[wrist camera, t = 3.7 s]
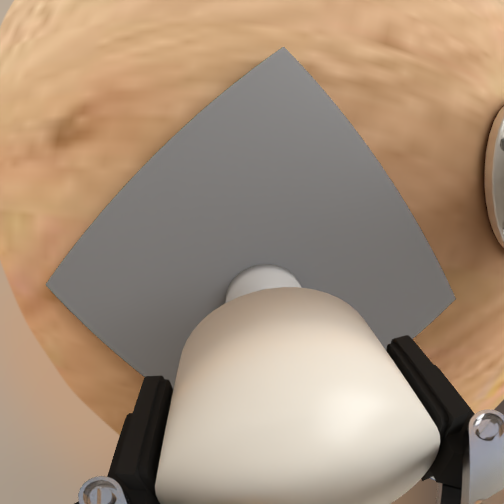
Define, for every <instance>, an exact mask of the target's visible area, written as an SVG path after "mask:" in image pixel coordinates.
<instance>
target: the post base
mask: <svg viewBox="0 0 504 504" xmlns="http://www.w3.org/2000/svg"><path fill="white" fill-rule="evenodd" d="M46 286H47V287H48V288H49V289H50V290H51V291H52V292H53V294H54V295H55V296H56V297H57V298H58V299H59V300H60V301H61V302H62V303H63V304H64V305H65V306H66V307H67V308H68V309H69V310H70V311H71V312H72V313H73V314H74V315H75V316H76V317H77V318H78V319H79V320H80V321H81V322H82V323H83V324H84V325H85V326H86V327H87V328H88V329H89V330H90V331H92V332H93V333H94V334H95V335H96V336H97V337H98V338H99V339H100V340H101V341H102V342H104V343H105V344H106V345H107V346H108V347H109V348H110V349H111V350H113V351H114V352H115V353H116V354H117V355H118V356H120V357H121V358H122V359H123V360H124V361H125V362H127V363H128V364H129V365H130V366H132V367H133V368H134V369H135V370H136V371H138V372H139V373H140V374H141V375H143V376H144V377H146V376H160V375H161V376H163V377H164V379H168V380H169V381H170V383H171V385H172V388H173V390H174V385H175V380H176V376H177V371H178V367H179V362H180V358H181V354H182V350H183V348H184V346H185V343H186V341H187V339H188V338H189V336H190V334H191V333H192V331H193V330H194V329H195V328H196V327H197V325H198V324H199V323H200V322H201V321H202V320H203V319H204V318H205V317H207V316H208V315H209V314H210V313H211V312H212V311H214V310H216V309H217V308H219V307H220V306H222V305H223V304H225V303H227V302H229V301H231V300H233V299H235V298H237V297H240V296H243V295H246V294H249V293H252V292H256V291H260V290H265V289H271V288H280V287H300V288H307V289H314V290H318V291H321V292H325V293H328V294H330V295H333V296H335V297H338V298H339V299H341V300H343V301H344V302H346V303H348V304H349V305H350V306H351V307H353V308H354V309H355V310H356V311H357V312H358V313H359V314H360V315H361V317H362V318H363V319H364V320H365V322H366V323H367V324H368V326H369V327H370V329H371V330H372V331H373V333H374V334H375V336H376V337H377V338H378V340H379V341H380V343H381V344H382V346H383V347H384V348H385V350H386V349H387V345H388V344H391V341H392V339H394V338H398V337H401V336H405V335H409V336H410V337H411V338H412V339H413V338H414V337H415V336H416V335H418V334H419V333H420V332H421V331H422V330H423V329H424V328H426V327H427V326H428V325H429V324H430V323H431V322H432V321H433V320H434V319H435V318H437V317H438V316H439V315H440V314H441V313H442V312H443V311H444V310H445V309H446V308H447V307H448V306H449V305H450V304H451V303H452V302H453V301H454V300H455V299H456V298H455V296H454V293H453V291H452V289H451V287H450V285H449V283H448V281H447V278H446V276H445V274H444V272H443V270H442V268H441V266H440V264H439V262H438V260H437V258H436V256H435V254H434V253H433V251H432V249H431V247H430V245H429V243H428V241H427V239H426V238H425V236H424V234H423V232H422V230H421V229H420V227H419V225H418V223H417V222H416V220H415V218H414V216H413V215H412V213H411V211H410V210H409V208H408V206H407V205H406V203H405V201H404V200H403V198H402V197H401V195H400V193H399V192H398V190H397V189H396V187H395V186H394V184H393V182H392V181H391V179H390V178H389V176H388V175H387V173H386V172H385V170H384V169H383V167H382V166H381V164H380V163H379V162H378V160H377V159H376V157H375V156H374V154H373V153H372V152H371V150H370V149H369V147H368V146H367V145H366V143H365V142H364V140H363V139H362V138H361V136H360V135H359V134H358V132H357V131H356V130H355V128H354V127H353V126H352V125H351V123H350V122H349V121H348V119H347V118H346V117H345V116H344V114H343V113H342V112H341V111H340V109H339V108H338V107H337V106H336V104H335V103H334V102H333V101H332V100H331V98H330V97H329V96H328V95H327V94H326V92H325V91H324V90H323V89H322V88H321V87H320V85H319V84H318V83H317V82H316V81H315V80H314V79H313V77H312V76H311V75H310V74H309V73H308V72H307V71H306V70H305V69H304V67H303V66H302V65H301V64H300V63H299V62H298V61H297V60H296V59H295V58H294V57H293V56H292V55H291V54H290V53H289V52H288V51H287V50H286V49H285V48H284V47H282V48H281V49H279V50H278V51H277V52H275V53H274V54H272V55H271V56H270V57H268V58H267V59H265V60H264V61H263V62H261V63H260V64H259V65H257V66H256V67H255V68H253V69H252V70H251V71H249V72H248V73H247V74H246V75H244V76H243V77H242V78H240V79H239V80H238V81H237V82H235V83H234V84H233V85H232V86H230V87H229V88H228V89H227V90H225V91H224V92H223V93H222V94H221V95H219V96H218V97H217V98H216V99H215V100H213V101H212V102H211V103H210V104H209V105H208V106H206V107H205V108H204V109H203V110H202V111H201V112H200V113H198V114H197V115H196V116H195V117H194V118H193V119H192V120H191V121H190V122H188V123H187V124H186V125H185V126H184V127H183V128H182V129H181V130H180V131H179V132H178V133H177V134H175V135H174V136H173V137H172V138H171V139H170V140H169V141H168V142H167V143H166V144H165V145H164V146H163V147H162V148H161V149H160V150H159V151H158V152H157V153H156V154H155V155H154V156H153V157H152V158H151V159H150V160H149V161H148V162H147V163H146V164H145V165H144V166H143V167H142V168H141V169H140V170H139V171H138V172H137V173H136V174H135V175H134V176H133V178H132V179H131V180H130V181H129V182H128V183H127V184H126V185H125V186H124V187H123V188H122V189H121V191H120V192H119V193H118V194H117V195H116V196H115V197H114V198H113V199H112V201H111V202H110V203H109V204H108V205H107V206H106V207H105V209H104V210H103V211H102V212H101V213H100V214H99V216H98V217H97V218H96V219H95V220H94V222H93V223H92V224H91V225H90V226H89V228H88V229H87V230H86V231H85V233H84V234H83V235H82V236H81V238H80V239H79V240H78V241H77V243H76V244H75V245H74V247H73V248H72V249H71V250H70V252H69V253H68V254H67V256H66V257H65V258H64V260H63V261H62V262H61V264H60V265H59V266H58V268H57V269H56V271H55V272H54V273H53V275H52V276H51V278H50V279H49V280H48V282H47V283H46Z"/></svg>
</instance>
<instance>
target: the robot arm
mask: <svg viewBox="0 0 504 504" xmlns="http://www.w3.org/2000/svg"><path fill="white" fill-rule="evenodd" d="M485 196H486V205H487V210H488V216H489V220H490V223H491V226H492V229H493V232H494V234H495V236H496V238H497V240H498V242H499V243H500V244H501V246H502V247H503V248H504V106H503V107H502V109H501V110H500V111H499V113H498V115H497V116H496V118H495V120H494V122H493V126H492V129H491V131H490V134H489V139H488V144H487V149H486V159H485ZM386 351H387V353H388V354H389V356H390V357H391V358H392V360H393V361H394V363H395V364H396V366H397V367H398V369H399V370H400V372H401V373H402V375H403V376H404V378H405V379H406V380H407V382H408V383H409V385H410V386H411V388H412V389H413V391H414V392H415V394H416V395H417V397H418V399H419V400H420V402H421V403H422V405H423V406H424V408H425V409H426V411H427V412H428V414H429V415H430V417H431V419H432V420H433V422H434V423H435V425H436V426H437V429H438V431H439V434H440V446H439V451H438V453H437V456H436V458H435V460H434V462H433V463H432V465H431V467H430V468H429V470H428V471H427V472H426V473H425V475H424V476H423V477H422V478H421V479H422V481H424V480H426V479H428V478H431V477H434V478H435V480H436V482H438V490H437V498H436V504H504V415H502V414H501V413H500V412H498V411H495V410H482V411H479V412H477V413H476V414H474V413H473V411H472V410H471V409H470V407H469V406H468V405H467V403H466V402H465V401H464V400H463V398H462V397H461V396H460V394H459V393H458V392H457V391H456V389H455V388H454V387H453V386H452V384H451V383H450V382H449V381H448V379H447V378H446V377H445V376H444V374H443V373H442V372H441V371H440V369H439V368H438V367H437V366H436V365H433V364H432V362H431V361H430V360H429V359H428V358H427V356H426V355H425V354H424V353H423V351H422V350H421V349H420V348H419V347H418V345H417V344H416V343H415V342H414V341H413V340H412V338H411V337H410V336H409V335H405V336H401V337H398V338H394V339H392V341H391V344H388V345H387V349H386ZM172 394H173V388H172V385H171V383H170V381H169V380H168V379H164V377H163V376H161V375H160V376H146V377H145V378H144V381H143V384H142V387H141V390H140V393H139V396H138V399H137V402H136V405H135V408H134V411H133V413H129V414H128V415H127V417H126V419H125V422H124V425H123V428H122V431H121V434H120V437H119V440H118V444H117V447H116V450H115V453H114V456H113V460H112V463H111V466H110V470H109V473H108V476H107V477H105V476H99V477H94V478H91V479H89V480H88V481H86V482H85V483H84V484H83V485H82V487H81V488H80V491H79V494H78V497H79V502H77V503H75V504H160V503H159V501H158V498H157V496H156V492H155V483H156V477H157V472H158V466H159V460H160V455H161V450H162V444H163V439H164V434H165V429H166V424H167V419H168V414H169V409H170V404H171V399H172Z"/></svg>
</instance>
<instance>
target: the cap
mask: <svg viewBox="0 0 504 504" xmlns="http://www.w3.org/2000/svg"><path fill="white" fill-rule="evenodd" d="M439 446H440V434H439V431H438V429H437V426H436V425H435V423H434V422H433V420H432V419H431V417H430V415H429V414H428V412H427V411H426V409H425V408H424V406H423V405H422V403H421V402H420V400H419V399H418V397H417V395H416V394H415V392H414V391H413V389H412V388H411V386H410V385H409V383H408V382H407V380H406V379H405V378H404V376H403V375H402V373H401V372H400V370H399V369H398V367H397V366H396V364H395V363H394V361H393V360H392V358H391V357H390V356H389V354H388V353H387V351H386V350H385V348H384V347H383V346H382V344H381V343H380V341H379V340H378V338H377V337H376V336H375V334H374V333H373V331H372V330H371V329H370V327H369V326H368V324H367V323H366V322H365V320H364V319H363V318H362V317H361V315H360V314H359V313H358V312H357V311H356V310H355V309H354V308H353V307H351V306H350V305H349V304H348V303H346V302H344V301H343V300H341V299H339V298H338V297H335V296H333V295H330V294H328V293H325V292H321V291H318V290H314V289H307V288H300V287H280V288H271V289H265V290H260V291H256V292H252V293H249V294H246V295H243V296H240V297H237V298H235V299H233V300H231V301H229V302H227V303H225V304H223V305H222V306H220V307H219V308H217V309H216V310H214V311H212V312H211V313H210V314H209V315H208V316H207V317H205V318H204V319H203V320H202V321H201V322H200V323H199V324H198V325H197V327H196V328H195V329H194V330H193V331H192V333H191V334H190V336H189V338H188V339H187V341H186V343H185V346H184V348H183V350H182V354H181V358H180V362H179V367H178V371H177V376H176V380H175V385H174V390H173V394H172V399H171V404H170V409H169V414H168V419H167V424H166V429H165V434H164V439H163V444H162V450H161V455H160V460H159V466H158V472H157V477H156V483H155V492H156V496H157V498H158V501H159V503H160V504H391V503H392V502H394V501H395V500H397V499H398V498H400V497H401V496H402V495H404V494H405V493H406V492H407V491H408V490H410V489H411V488H412V487H413V486H414V485H415V484H416V483H417V482H418V481H419V480H420V479H421V478H422V477H423V476H424V475H425V473H426V472H427V471H428V470H429V468H430V467H431V465H432V463H433V462H434V460H435V458H436V456H437V453H438V451H439Z"/></svg>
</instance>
